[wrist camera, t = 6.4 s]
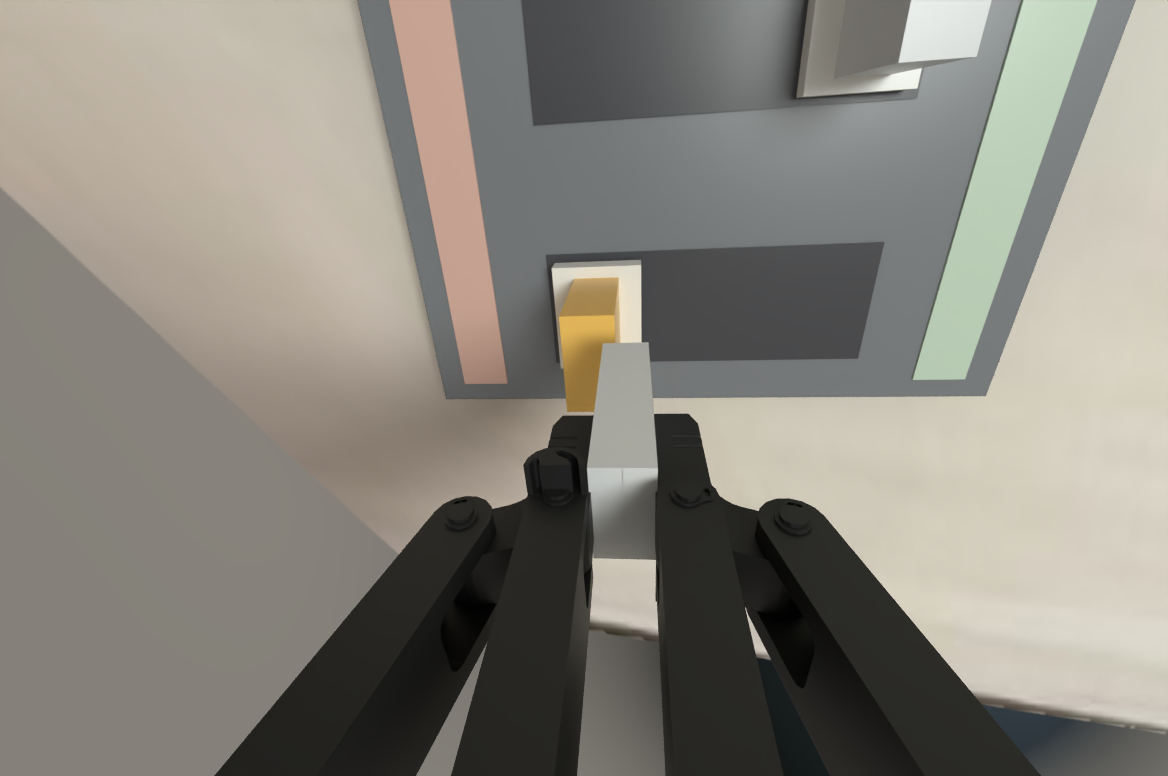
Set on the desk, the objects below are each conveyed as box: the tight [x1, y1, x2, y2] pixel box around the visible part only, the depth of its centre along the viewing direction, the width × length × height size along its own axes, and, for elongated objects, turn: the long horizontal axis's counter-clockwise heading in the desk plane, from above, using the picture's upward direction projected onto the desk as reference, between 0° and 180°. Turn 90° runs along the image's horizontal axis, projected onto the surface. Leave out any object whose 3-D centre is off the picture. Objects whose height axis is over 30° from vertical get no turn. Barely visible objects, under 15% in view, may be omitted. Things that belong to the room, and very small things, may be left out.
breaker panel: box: [358, 0, 1136, 399], centre depth 19 cm, size 20×28×8 cm
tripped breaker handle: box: [552, 260, 641, 412], centre depth 21 cm, size 5×4×6 cm
